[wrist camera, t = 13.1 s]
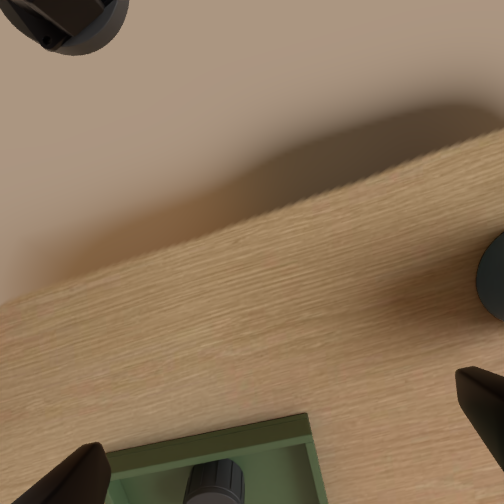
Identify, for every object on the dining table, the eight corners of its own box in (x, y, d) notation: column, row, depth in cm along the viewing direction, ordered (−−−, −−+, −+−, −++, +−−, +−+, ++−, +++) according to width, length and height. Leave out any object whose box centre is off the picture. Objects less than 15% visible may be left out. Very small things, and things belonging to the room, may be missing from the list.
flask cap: (248, 497, 24) (247, 538, 21) (194, 503, 24) (187, 544, 21) (239, 452, 23) (237, 489, 20) (184, 459, 23) (175, 496, 20)
